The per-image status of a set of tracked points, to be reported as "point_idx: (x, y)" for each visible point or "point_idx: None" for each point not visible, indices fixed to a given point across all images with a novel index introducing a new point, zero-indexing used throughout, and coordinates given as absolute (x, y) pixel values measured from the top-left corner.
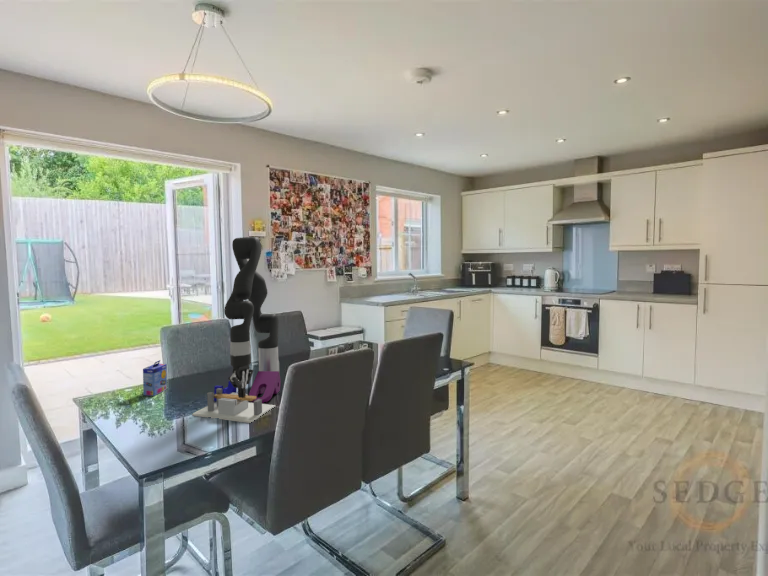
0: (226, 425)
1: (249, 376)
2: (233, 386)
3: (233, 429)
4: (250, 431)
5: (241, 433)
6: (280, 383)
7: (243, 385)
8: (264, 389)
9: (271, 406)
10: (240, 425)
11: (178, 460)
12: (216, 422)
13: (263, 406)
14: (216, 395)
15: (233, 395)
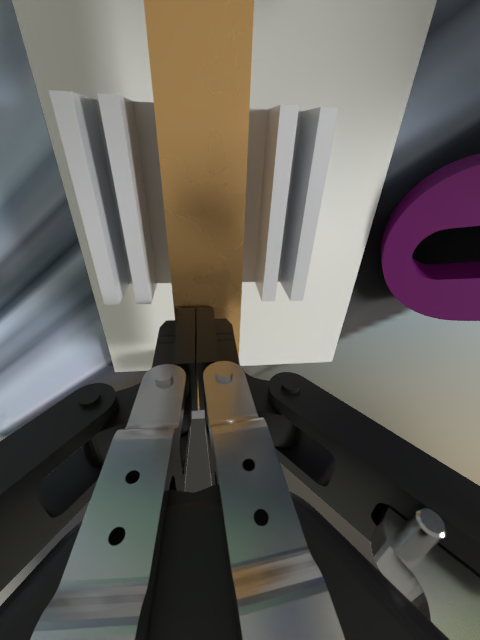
0: (21, 280)
1: (336, 508)
2: (59, 403)
3: (12, 342)
4: (48, 406)
5: (8, 391)
6: None
7: (181, 442)
8: None
9: (314, 354)
10: (70, 342)
11: None
12: (9, 185)
13: (309, 322)
14: None
15: (215, 219)
